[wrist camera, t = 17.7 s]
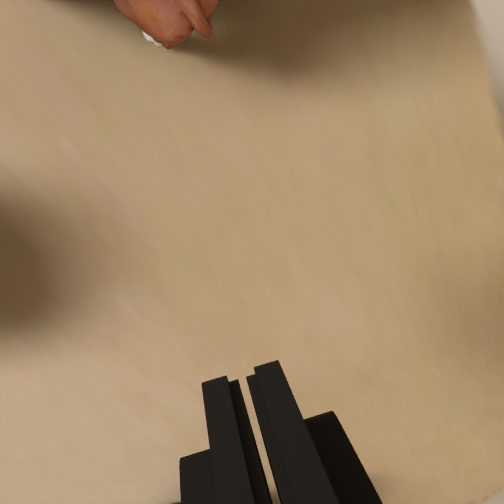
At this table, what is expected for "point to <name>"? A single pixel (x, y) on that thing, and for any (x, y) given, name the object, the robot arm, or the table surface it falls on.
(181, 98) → the table surface
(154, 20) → the bull figurine
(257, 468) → the robot arm
